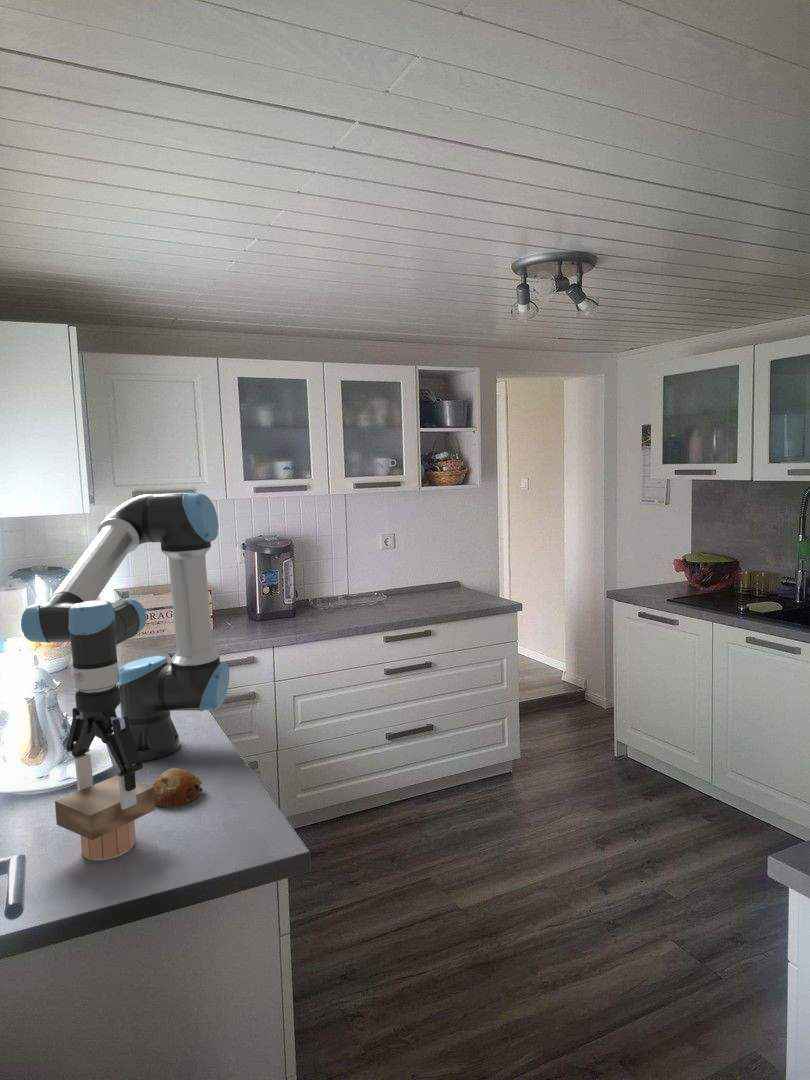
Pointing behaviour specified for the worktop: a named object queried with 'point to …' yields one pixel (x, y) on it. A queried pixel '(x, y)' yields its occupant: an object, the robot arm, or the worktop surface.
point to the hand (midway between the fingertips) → (106, 797)
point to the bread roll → (176, 788)
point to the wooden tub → (110, 843)
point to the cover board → (101, 808)
